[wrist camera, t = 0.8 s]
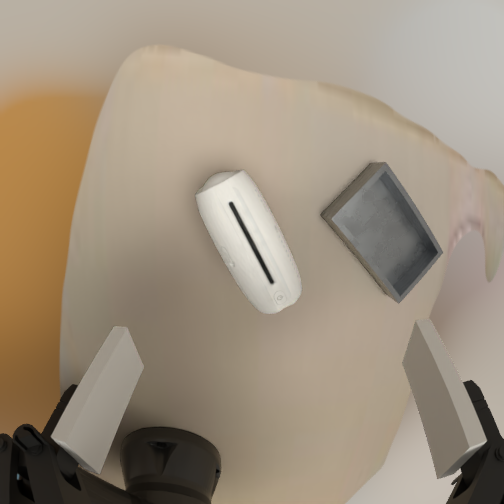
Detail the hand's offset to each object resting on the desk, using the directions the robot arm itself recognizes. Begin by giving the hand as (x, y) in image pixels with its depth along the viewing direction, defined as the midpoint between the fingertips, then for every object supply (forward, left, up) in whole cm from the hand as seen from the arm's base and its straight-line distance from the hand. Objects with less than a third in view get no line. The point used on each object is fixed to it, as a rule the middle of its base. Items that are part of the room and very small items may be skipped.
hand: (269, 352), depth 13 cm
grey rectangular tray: (+13, -10, -18) cm, 24 cm away
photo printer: (+2, +2, -18) cm, 19 cm away
